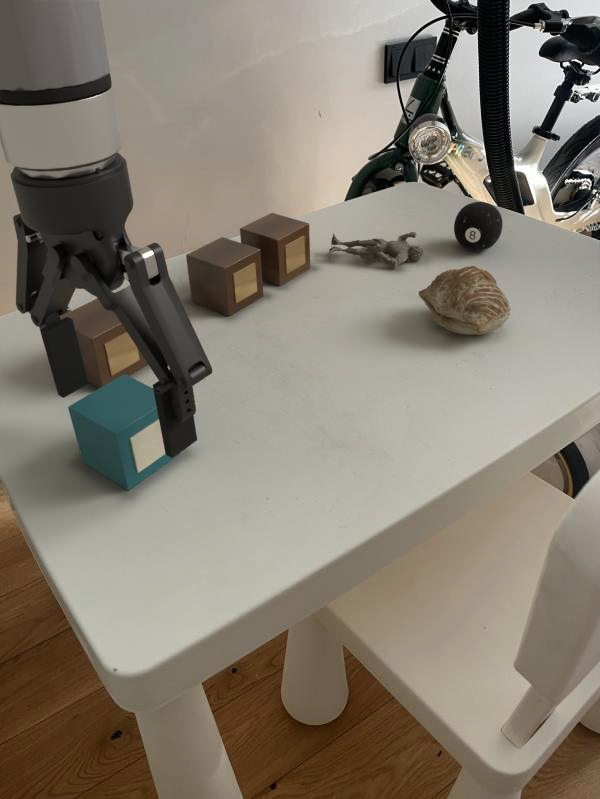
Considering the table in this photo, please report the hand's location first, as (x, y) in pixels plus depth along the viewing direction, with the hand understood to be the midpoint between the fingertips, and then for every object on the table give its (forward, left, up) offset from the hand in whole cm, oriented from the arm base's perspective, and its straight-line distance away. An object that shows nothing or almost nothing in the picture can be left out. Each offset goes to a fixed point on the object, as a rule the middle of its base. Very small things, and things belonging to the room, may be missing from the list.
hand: (124, 417), depth 61 cm
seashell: (+12, +36, -5) cm, 38 cm away
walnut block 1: (-13, +8, -5) cm, 16 cm away
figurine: (-5, +45, -5) cm, 46 cm away
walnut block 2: (-13, +26, -5) cm, 30 cm away
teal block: (0, 0, -5) cm, 5 cm away
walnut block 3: (-13, +35, -5) cm, 38 cm away
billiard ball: (+4, +55, -5) cm, 55 cm away
